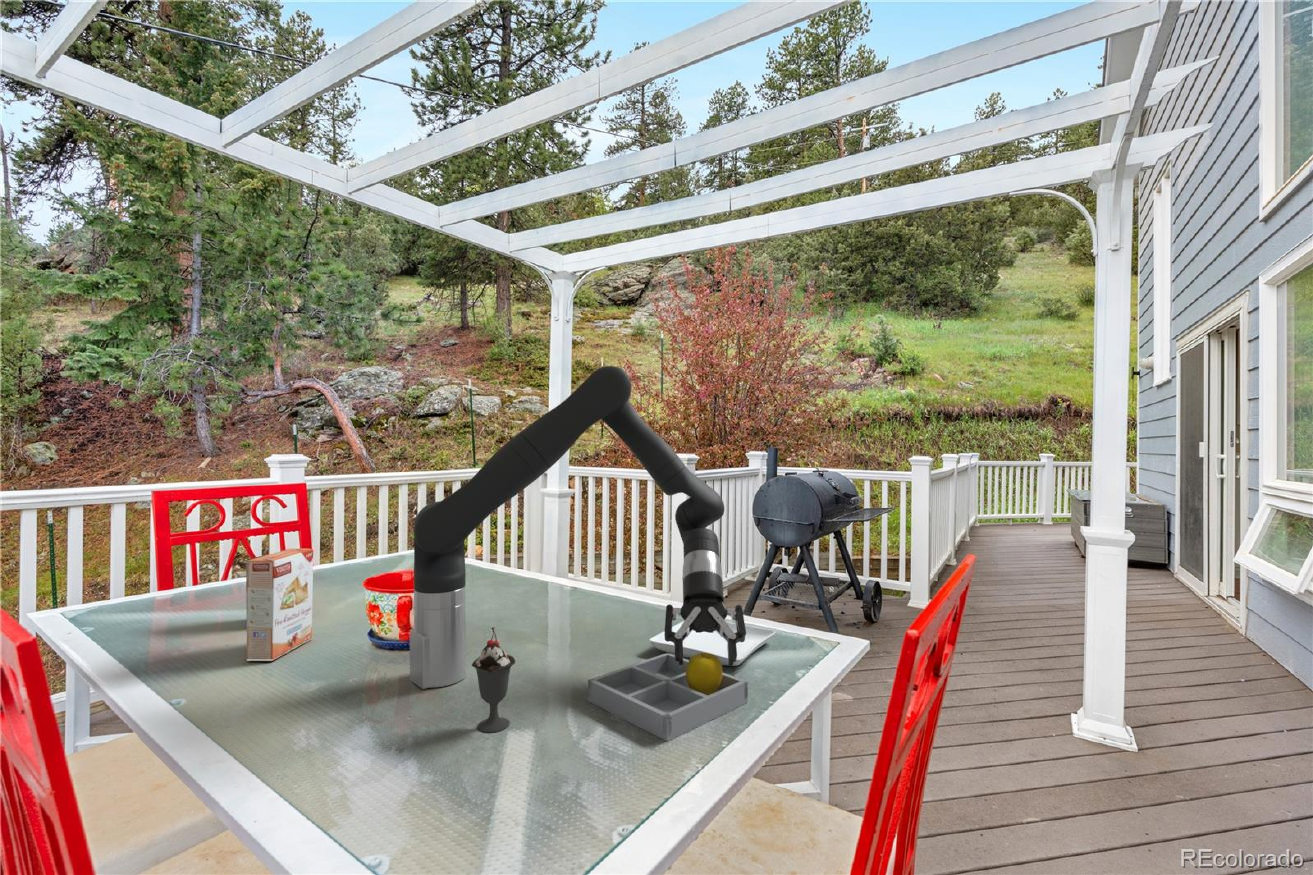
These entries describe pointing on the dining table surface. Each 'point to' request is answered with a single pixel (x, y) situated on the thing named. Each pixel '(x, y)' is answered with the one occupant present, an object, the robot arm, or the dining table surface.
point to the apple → (704, 673)
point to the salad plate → (715, 643)
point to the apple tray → (663, 696)
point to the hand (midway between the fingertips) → (706, 663)
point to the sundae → (493, 682)
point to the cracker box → (279, 602)
